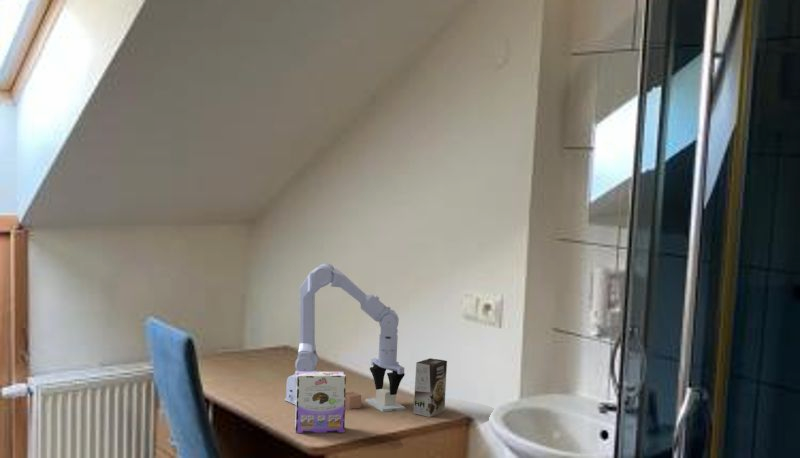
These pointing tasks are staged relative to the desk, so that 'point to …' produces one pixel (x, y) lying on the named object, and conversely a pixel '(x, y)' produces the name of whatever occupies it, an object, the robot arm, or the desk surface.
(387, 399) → the cream block
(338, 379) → the candy box
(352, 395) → the brown block
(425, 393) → the coffee box
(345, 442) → the desk surface
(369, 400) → the hard drive
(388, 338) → the robot arm
